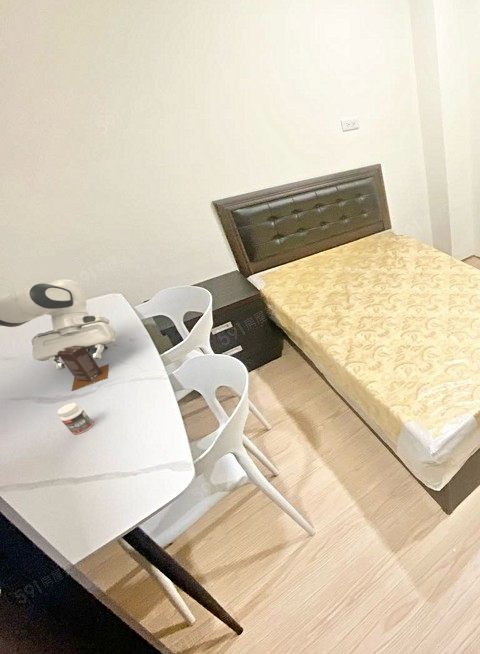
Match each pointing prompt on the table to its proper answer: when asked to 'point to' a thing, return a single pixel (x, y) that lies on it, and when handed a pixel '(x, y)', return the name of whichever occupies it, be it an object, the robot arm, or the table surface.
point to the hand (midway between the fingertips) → (79, 363)
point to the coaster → (79, 383)
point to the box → (80, 363)
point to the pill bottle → (75, 418)
